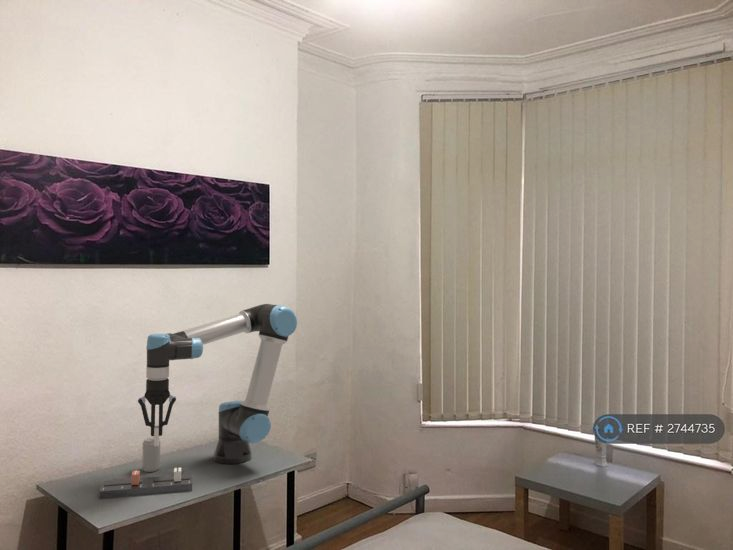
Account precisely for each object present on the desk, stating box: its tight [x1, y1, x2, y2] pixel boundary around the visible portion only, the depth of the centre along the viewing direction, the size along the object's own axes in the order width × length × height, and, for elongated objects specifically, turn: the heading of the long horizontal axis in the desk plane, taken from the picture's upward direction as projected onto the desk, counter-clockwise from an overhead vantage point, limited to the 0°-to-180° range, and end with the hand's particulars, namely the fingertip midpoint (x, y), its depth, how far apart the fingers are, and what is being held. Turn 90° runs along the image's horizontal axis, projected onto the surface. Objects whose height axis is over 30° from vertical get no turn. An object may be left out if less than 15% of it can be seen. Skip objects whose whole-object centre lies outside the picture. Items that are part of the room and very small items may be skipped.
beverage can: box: [142, 436, 161, 473], centre depth 231 cm, size 6×6×12 cm
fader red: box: [130, 470, 141, 485], centre depth 210 cm, size 2×4×4 cm, turn 16°
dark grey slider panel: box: [98, 473, 193, 500], centre depth 211 cm, size 30×10×3 cm, turn 106°
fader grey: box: [173, 466, 182, 482], centre depth 214 cm, size 2×4×4 cm, turn 16°
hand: (156, 445), depth 212 cm, fingers closed
